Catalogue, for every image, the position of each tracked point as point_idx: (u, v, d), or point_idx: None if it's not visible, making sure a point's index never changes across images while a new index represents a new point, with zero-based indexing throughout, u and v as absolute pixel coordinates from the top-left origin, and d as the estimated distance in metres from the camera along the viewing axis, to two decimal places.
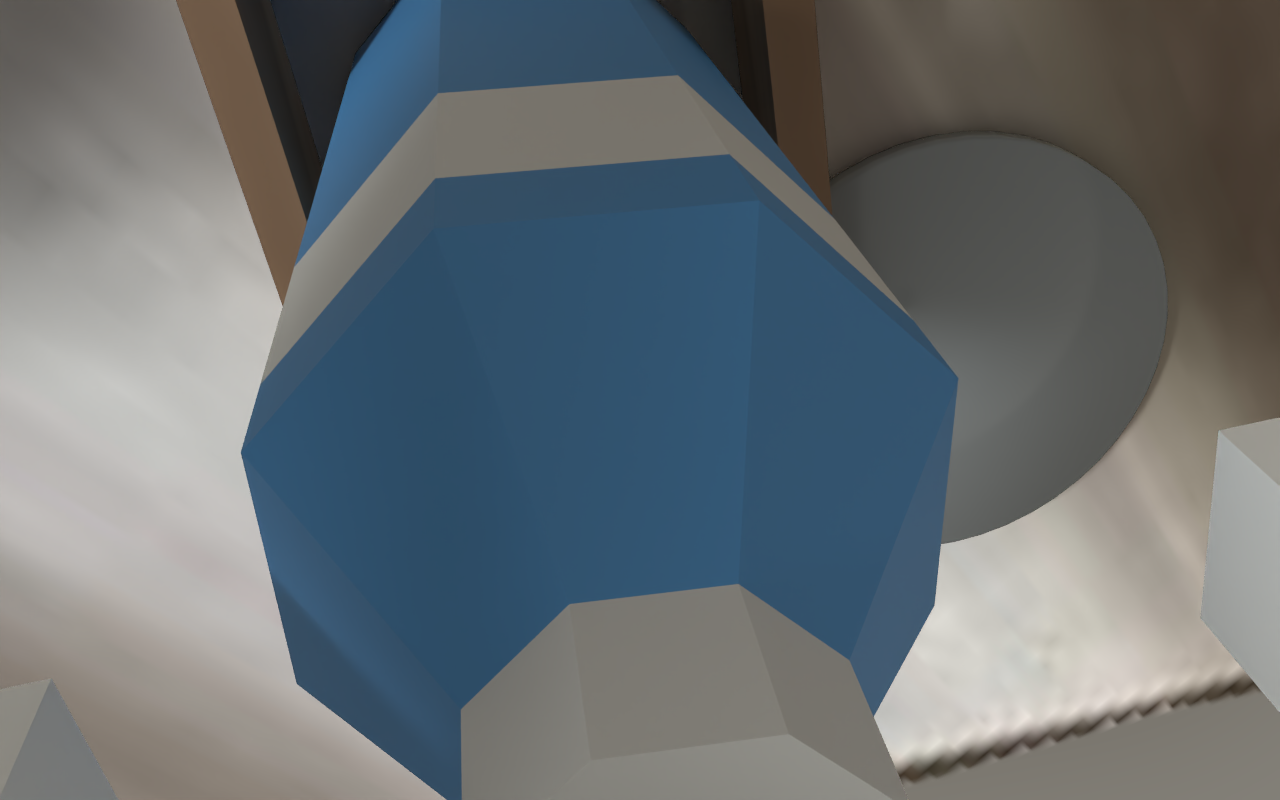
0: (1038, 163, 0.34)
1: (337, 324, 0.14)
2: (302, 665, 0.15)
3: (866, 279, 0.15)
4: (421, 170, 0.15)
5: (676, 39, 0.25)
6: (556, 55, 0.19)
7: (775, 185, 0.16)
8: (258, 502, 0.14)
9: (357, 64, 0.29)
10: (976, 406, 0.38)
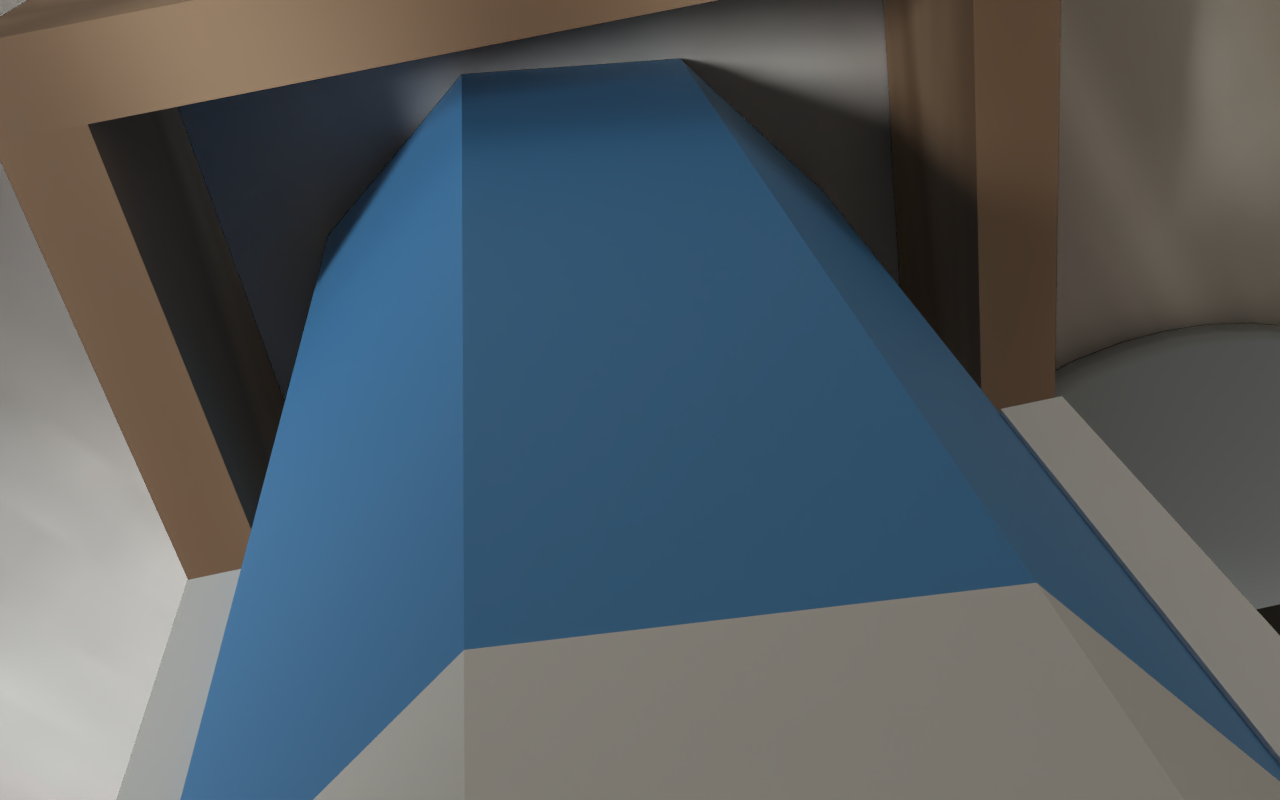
0: None
1: None
2: None
3: None
4: None
5: (868, 285, 0.14)
6: (718, 462, 0.09)
7: None
8: None
9: (327, 270, 0.18)
10: None
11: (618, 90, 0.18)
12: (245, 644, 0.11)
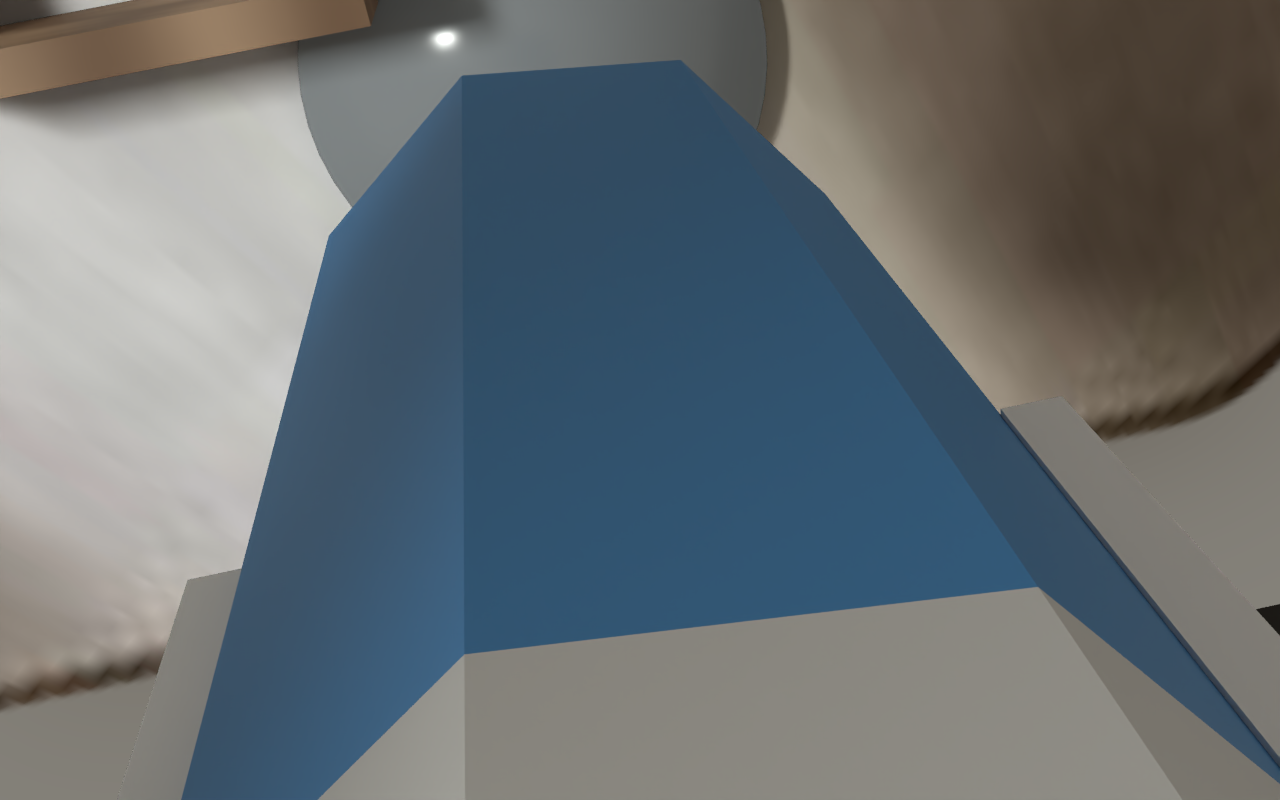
0: None
1: None
2: None
3: None
4: None
5: (869, 286, 0.14)
6: (718, 465, 0.09)
7: None
8: None
9: (327, 271, 0.18)
10: None
11: (618, 91, 0.18)
12: (245, 647, 0.11)
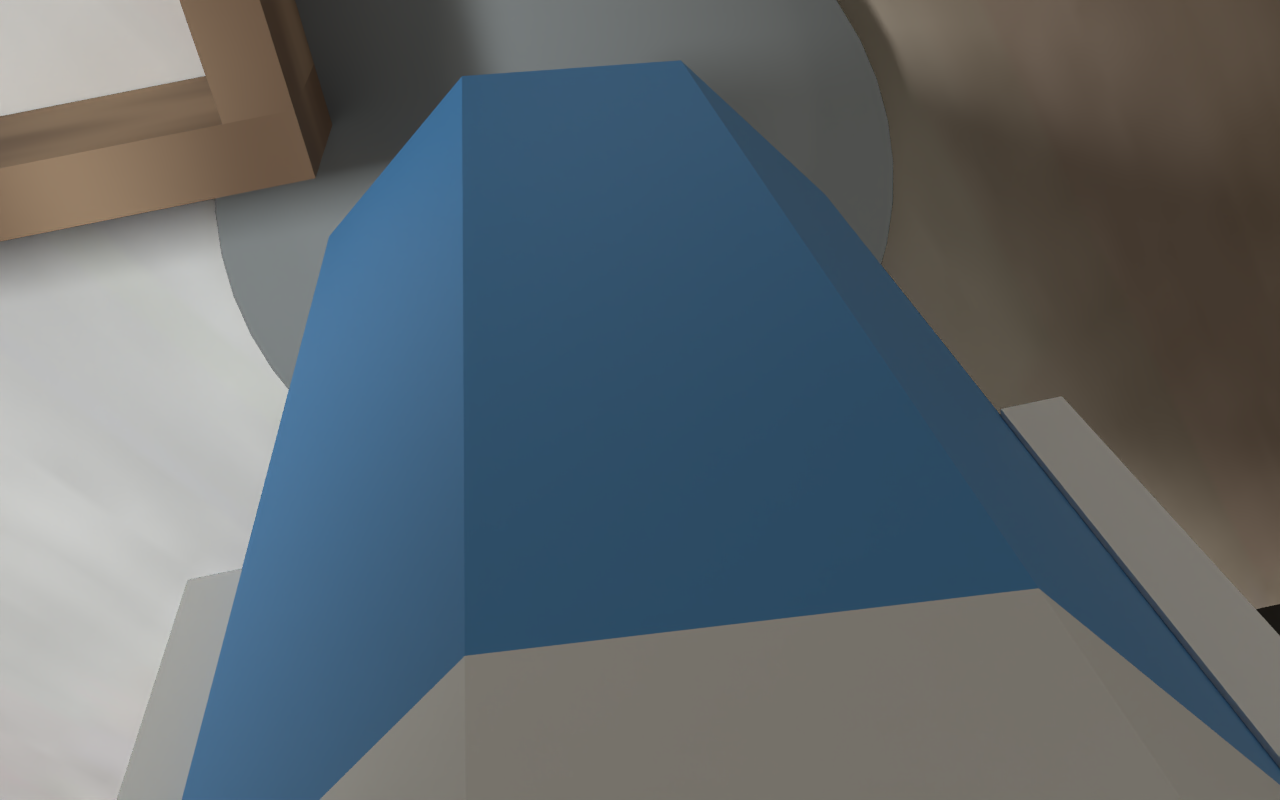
0: None
1: None
2: None
3: None
4: None
5: (869, 287, 0.14)
6: (719, 466, 0.09)
7: None
8: None
9: (328, 271, 0.18)
10: None
11: (618, 92, 0.18)
12: (245, 648, 0.11)
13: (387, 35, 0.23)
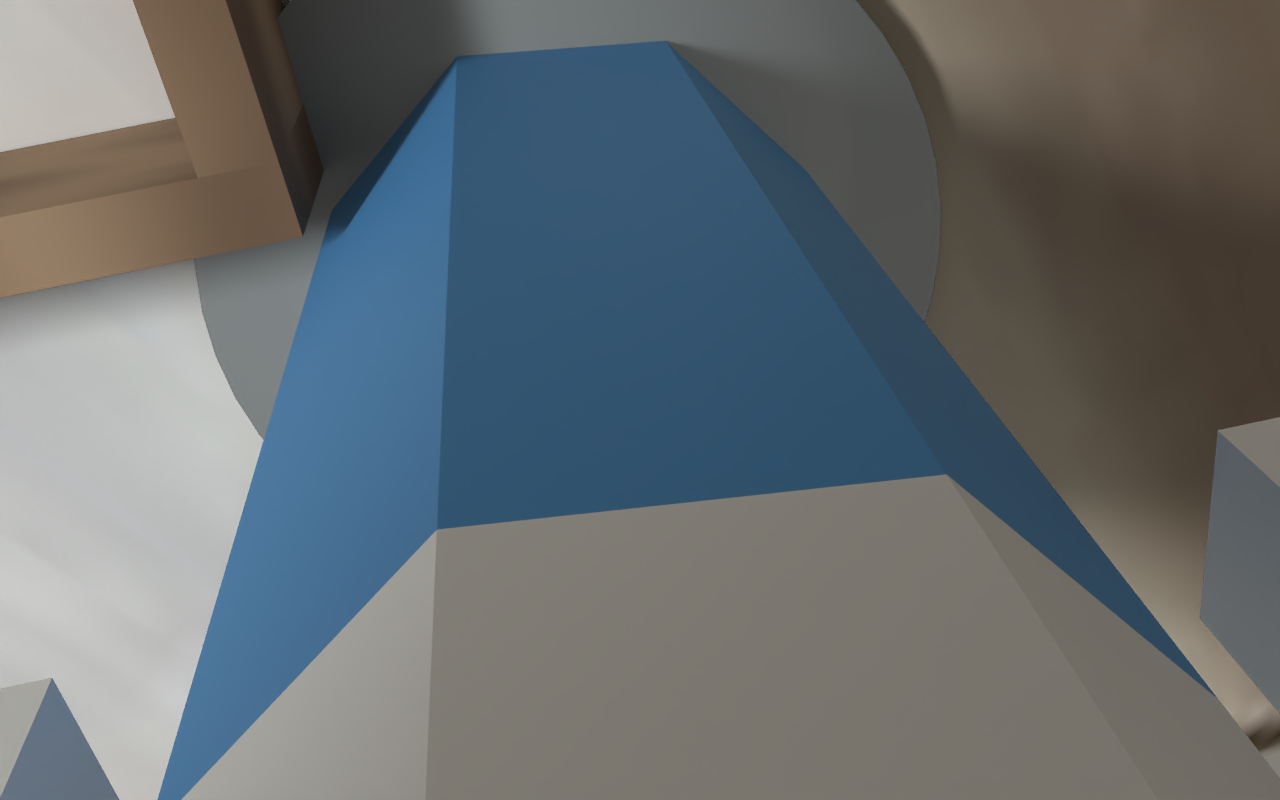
0: None
1: None
2: None
3: None
4: None
5: (833, 244, 0.15)
6: (672, 381, 0.10)
7: None
8: None
9: (329, 241, 0.19)
10: None
11: (604, 69, 0.19)
12: (248, 561, 0.12)
13: (384, 72, 0.20)
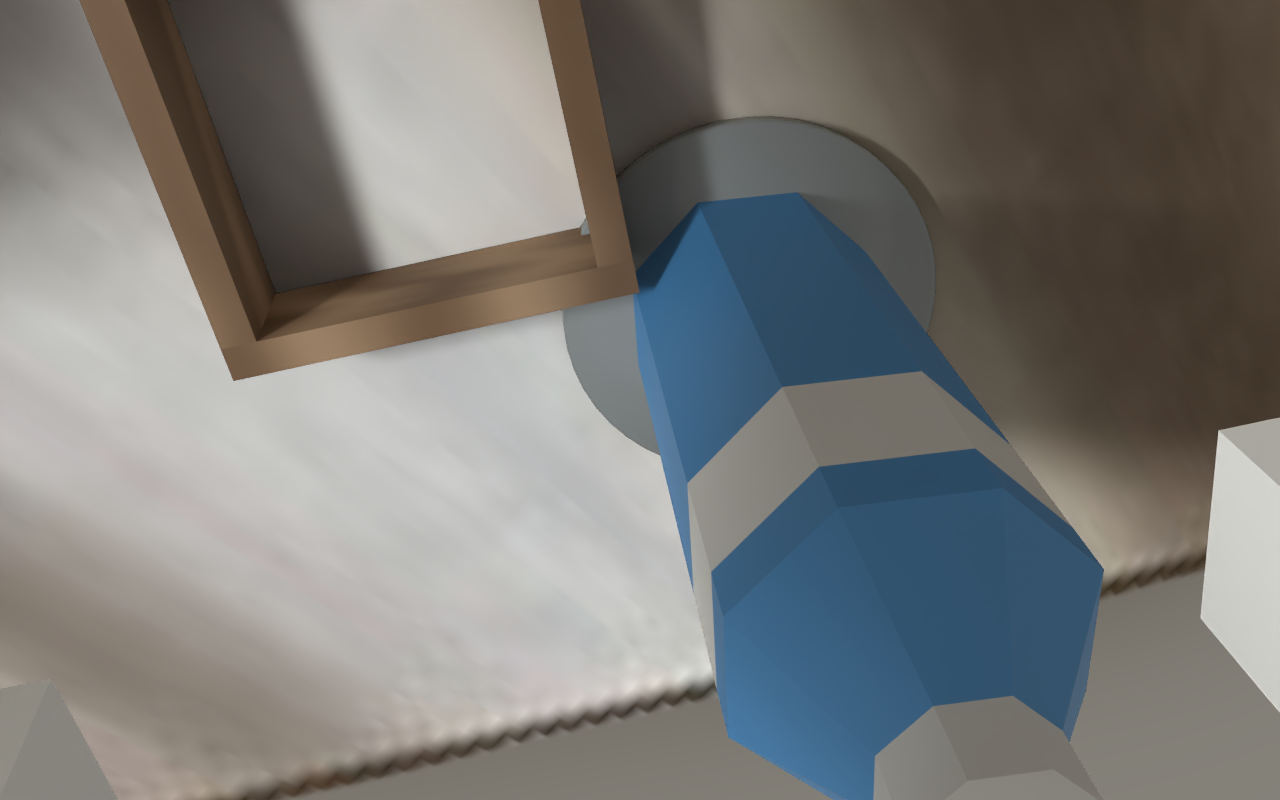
0: (807, 142, 0.42)
1: (774, 549, 0.26)
2: (737, 727, 0.27)
3: (1047, 509, 0.28)
4: (799, 453, 0.28)
5: (883, 296, 0.37)
6: (838, 348, 0.32)
7: (991, 451, 0.28)
8: (730, 642, 0.26)
9: (643, 293, 0.41)
10: None
11: (773, 211, 0.41)
12: (684, 414, 0.33)
13: (663, 210, 0.42)
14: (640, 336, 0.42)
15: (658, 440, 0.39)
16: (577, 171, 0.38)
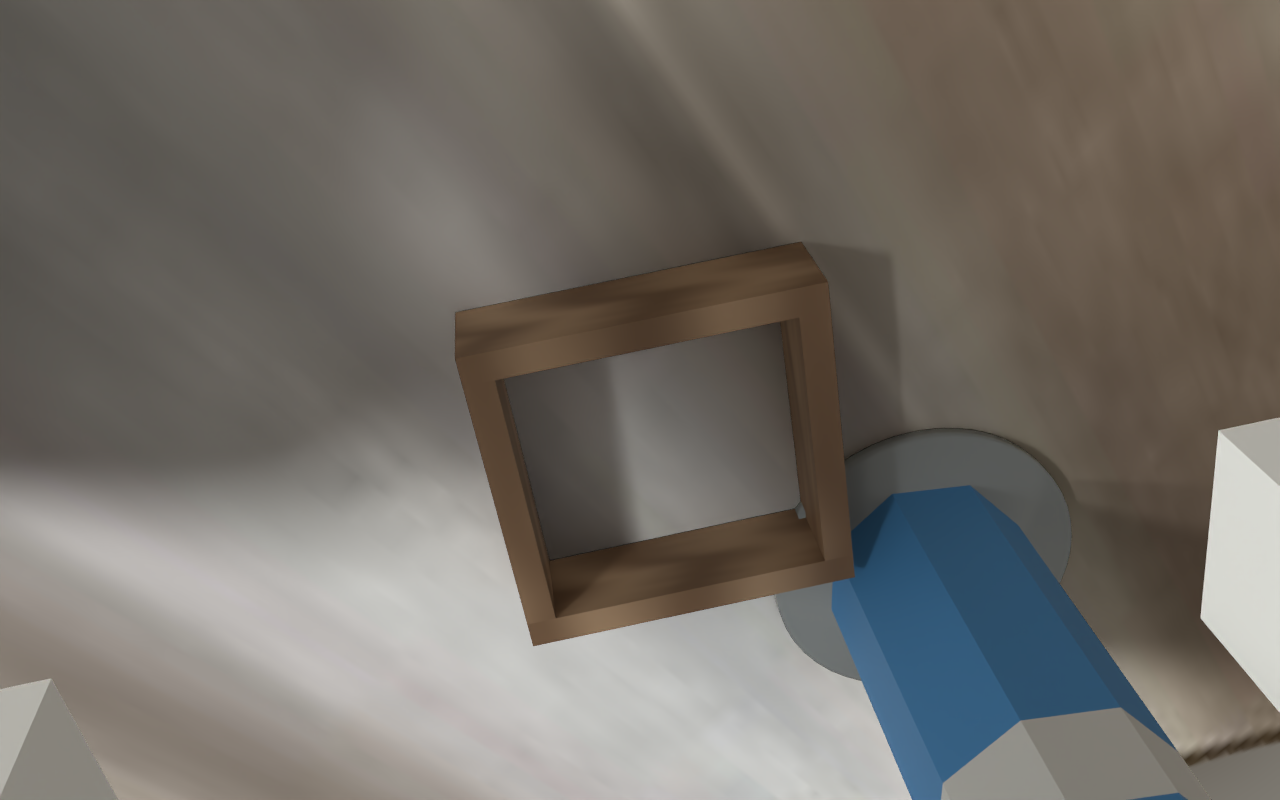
0: (981, 450, 0.52)
1: None
2: None
3: None
4: (1049, 789, 0.38)
5: (1059, 601, 0.48)
6: (1051, 678, 0.42)
7: (1181, 781, 0.39)
8: None
9: None
10: None
11: (957, 509, 0.52)
12: (925, 713, 0.44)
13: (864, 500, 0.53)
14: (845, 600, 0.53)
15: (872, 698, 0.50)
16: (819, 495, 0.48)
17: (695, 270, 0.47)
